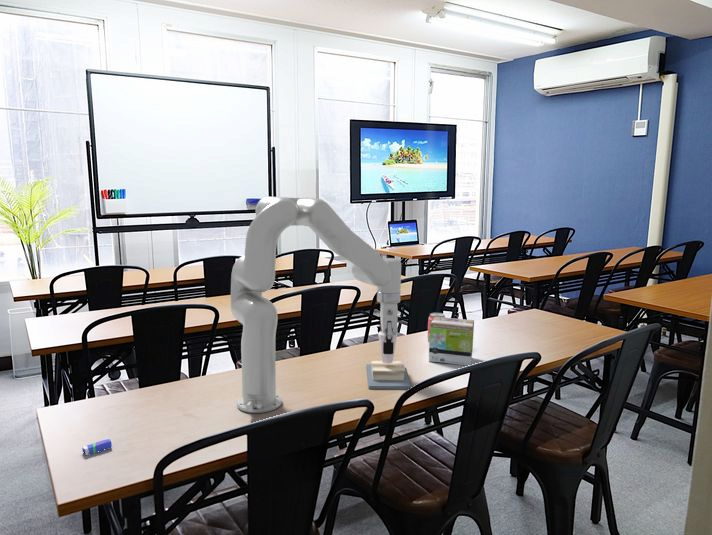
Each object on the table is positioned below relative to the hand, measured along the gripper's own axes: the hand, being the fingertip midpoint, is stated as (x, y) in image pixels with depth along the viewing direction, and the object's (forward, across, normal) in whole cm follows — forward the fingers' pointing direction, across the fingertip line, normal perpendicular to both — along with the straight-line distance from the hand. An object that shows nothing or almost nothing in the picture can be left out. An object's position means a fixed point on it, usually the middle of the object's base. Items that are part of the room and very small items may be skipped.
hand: (387, 350), depth 176 cm
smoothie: (+4, 0, 0) cm, 4 cm away
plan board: (+9, 0, 0) cm, 9 cm away
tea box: (+10, +18, -25) cm, 32 cm away
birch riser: (+9, 0, 0) cm, 9 cm away
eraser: (+10, -49, +72) cm, 88 cm away
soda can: (+10, +38, -23) cm, 45 cm away
